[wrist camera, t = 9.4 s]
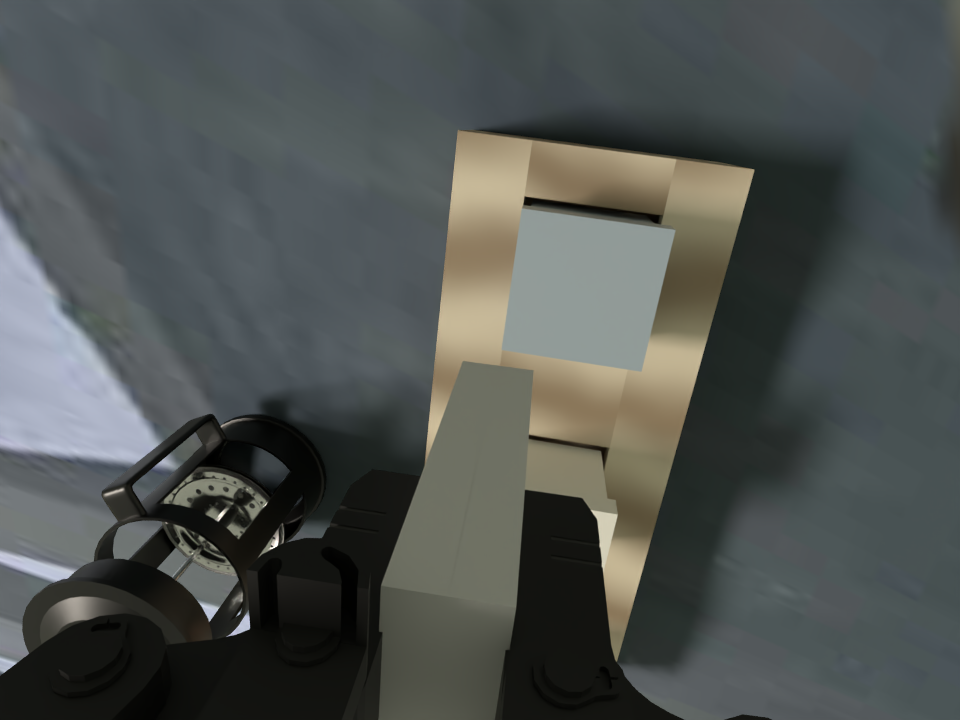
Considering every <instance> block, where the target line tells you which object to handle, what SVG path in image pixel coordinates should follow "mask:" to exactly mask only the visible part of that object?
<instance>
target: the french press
mask: <svg viewBox="0 0 960 720" xmlns="http://www.w3.org/2000/svg"><path fill="white" fill-rule="evenodd" d="M194 432H196V434H197V435H198V437H199V439H200V440H201V442H202V444H203V445H202V446H201V447H200V448H199V449H198V450H197V451H196V452H195V453H194V454H193V455H192V456H191V457H190V458H189V459H188V460H187V461H186V462H185V463H184V464H183V465H181V466H180V467H179V468H178V469H177V470H176V471H175V472H174V473H173V474H171V475H170V476H169V477H168V478H167V479H166V480H165V481H164V482H163V483H161V484H160V485H159V486H158V487H157V488H156V489H155V490H154V491H153V492H151V493H150V494H149V495H148V496H147V497H146V498H145V499H144V500H143V501H141V502H140V500H139V499H138V497H137V496H136V494H135V493H134V491H133V489H132V486H133V484H134V483H135V482H136V481H137V480H139V479H140V478H141V477H142V476H143V475H145V474H146V473H147V472H148V471H149V470H151V469H152V468H153V467H154V466H155V465H156V464H158V463H159V462H160V461H161V460H162V459H164V458H165V457H166V456H167V455H168V454H170V453H171V452H172V451H173V450H174V449H175V448H177V447H178V446H179V445H180V444H181V443H183V442H184V441H185V440H186V439H187V438H189V437H190V436H191V435H192V434H193V433H194ZM228 442H240V443H246V444H250V445H253V446H256V447H259V448H261V449H263V450H265V451H267V452H269V453H271V454H272V455H274V456H275V457H276V458H278V459H279V460H280V461H281V462H283V464H284V465H285V466H286V467H287V468H288V469H289V470H290V473H289V474H288V475H287V476H286V478H285V479H284V480H283V482H282V483H281V484H280V485H279V487H278V488H277V489H276V491H275V492H274V493H273V495H272V494H271V492H270V491H269V490H268V489H267V488H265V487H264V486H263V485H262V484H261V483H260V482H258V481H257V480H255V479H254V478H253V477H251V476H249V475H247V474H245V473H243V472H241V471H239V470H236V469H233V468H230V467H226V466H221V465H220V457H221V453H222V451H223V448H224V447H225V445H226V444H227V443H228ZM325 489H326V473H325V468H324V464H323V462H322V459H321V457H320V455H319V453H318V452H317V450H316V448H315V447H314V445H313V444H312V443H311V442H310V441H309V440H308V439H307V438H306V436H305V435H303V434H302V433H301V432H300V431H298V430H297V429H296V428H294V427H293V426H291V425H289V424H287V423H285V422H283V421H281V420H278V419H275V418H272V417H268V416H262V415H245V416H240V417H236V418H233V419H231V420H229V421H226V422H224V423H223V424H222V425H221V426H220V425H219V423H218V421H217V419H216V418H215V416H214V415H213V414H208V415H205V416H202V417H199V418H196V419H193V420H190V421H189V422H187V423H186V424H185V425H183V426H182V427H181V428H180V429H178V430H177V431H176V432H175V433H173V434H172V435H171V436H170V437H168V438H167V439H166V440H165V441H163V442H162V443H161V444H160V445H158V446H157V447H156V448H155V449H153V450H152V451H151V452H150V453H148V454H147V455H146V456H145V457H143V458H142V459H141V460H140V461H138V462H137V463H136V464H135V465H133V466H132V467H131V468H130V469H128V470H127V471H126V472H125V473H123V474H122V475H121V476H120V477H118V478H117V479H116V480H115V481H113V482H112V483H111V484H110V485H108V486H107V487H106V488H105V489H104V490H103V491H102V498H103V499H104V501H105V502H106V504H107V505H108V507H109V508H110V510H111V511H112V513H113V514H114V516H115V517H116V519H117V520H118V522H117V523H116V524H114V525H113V526H112V527H111V528H110V529H109V530H108V531H107V532H106V533H105V534H104V535H103V537H102V538H101V539H100V541H99V543H98V545H97V548H96V550H95V556H94V562H91V563H89V564H86V565H84V566H82V567H81V568H80V569H78V570H77V571H76V572H74V573H73V574H72V575H71V576H70V577H69V578H68V579H62V580H60V581H57V582H55V583H52V584H50V585H48V586H47V587H45V588H44V589H43V590H41V591H40V592H39V593H38V594H36V595H35V596H34V597H33V599H32V600H31V601H30V603H29V604H28V606H27V607H26V610H25V613H24V616H23V629H22V631H23V636H24V641H25V645H26V647H27V649H28V652H29V654H30V653H31V652H32V651H34V650H35V649H36V648H38V647H39V646H40V645H41V644H43V643H44V642H45V641H47V640H49V639H50V638H52V637H54V636H55V635H57V634H59V633H60V632H62V631H64V630H65V629H67V628H69V627H70V626H72V625H75V624H78V623H81V622H84V621H86V620H89V619H92V618H95V617H98V616H104V615H114V614H124V613H127V614H132V615H136V616H141V617H146V618H148V619H149V620H151V621H152V622H153V623H155V624H156V625H157V626H158V627H160V628H161V629H162V633H163V636H164V639H165V643H166V645H168V644H176V643H185V642H194V641H203V640H212V639H218V638H223V637H226V636H228V635H230V634H231V633H232V632H233V631H234V630H235V629H236V628H237V627H238V626H239V624H240V622H241V621H242V619H243V618H244V616H245V615H246V613H247V612H248V610H249V601H248V587H247V572H246V570H247V569H248V568H249V567H250V566H251V565H252V564H253V563H254V562H255V561H256V560H257V559H258V558H259V557H260V556H261V554H263V553H265V552H267V551H269V550H271V549H273V548H275V547H277V546H279V545H280V544H282V543H286V542H287V541H289V540H290V539H292V538H293V537H294V536H295V535H296V534H297V533H298V532H299V530H300V529H301V527H302V525H303V524H304V522H305V521H306V519H307V518H308V517H309V516H310V515H311V514H312V513H313V512H314V511H315V510H316V509H317V508H318V506H319V504H320V502H321V501H322V499H323V496H324V493H325ZM301 495H303V499H302V500H301V501H300V502H299V504H297V505H296V506H294V505H295V504H296V502H297V501H298V499H299V498H300V497H301ZM141 520H153V521H162V526H161V527H160V528H159V530H158V531H157V532H156V533H155V534H154V535H153V536H152V537H151V538H150V539H149V540H148V541H147V542H146V543H145V544H144V545H143V546H142V547H141V548H140V549H139V550H138V551H137V552H136V553H135V554H134V555H133V556H132V557H131V558H130V559H129V560H125V559H114V556H113V542H114V537H115V534H116V532H117V529H118V528H119V527H120V526H122V525H125V524H127V523H130V522H136V521H141ZM175 548H177V549H178V550H179V551H180V552H181V553H182V554H183V555H184V556H186V557H187V558H188V559H187V560H186V561H185V562H184V563H183V565H182V566H181V567H180V568H179V569H178V570H177V572H176V573H175V574H174V575H173V576H172V577H170V576H169V575H167V574H165V573H163V572H162V571H160V570H158V569H157V568H158V567H159V565H160V564H161V563H162V562H163V561H164V560H165V559H166V558H167V557H168V556H169V554H170V553H171V552H172V551H173V550H174V549H175ZM192 562H194V563H195V564H197V565H199V566H201V567H203V568H205V569H207V570H210V571H213V572H216V573H219V574H224V575H230V576H238V578H239V581H238V582H237V584H236V585H235V587H234V588H233V590H232V591H231V592H230V594H229V595H228V597H227V598H226V599H225V601H224V602H223V604H222V605H221V607H220V608H219V609H218V611H217V612H216V614H215V615H214V617H213V618H212V619H211V621H210V622H209V621H208V618H207V616H206V614H205V612H204V610H203V609H202V607H201V605H200V604H199V603H198V601H197V600H196V599H195V598H194V596H193V595H192V594H191V593H190V592H189V591H188V590H187V589H186V588H185V587H184V586H183V585H181V584H180V583H179V582H177V580H178V579H179V578H180V576H181V575H182V574H183V573H184V572H185V570H186V569H187V568H188V567H189V566H190V564H191V563H192ZM241 608H242V611H241V614H240V615H238V616H237V614H238V613H239V611H240V610H241ZM236 616H237V617H236Z"/></svg>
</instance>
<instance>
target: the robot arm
mask: <svg viewBox="0 0 960 720" xmlns="http://www.w3.org/2000/svg"><path fill="white" fill-rule="evenodd" d="M533 372H534V370H527V369H520V368H512V367H505V366H497V365H490V364H482V363H475V362H467V361H463V362H462V365H461V368H460V370H459V373H458V376H457V379H456V381H455V384H454V387H453V389H452V392H451V395H450V398H449V400H448V403H447V406H446V409H445V411H444V414H443V417H442V420H441V422H440V425H439V428H438V431H437V433H436V436H435V439H434V442H433V444H432V447H431V450H430V453H429V455H428V458H427V461H426V464H425V466H424V469H423V472H422V474H421V476H415V475H408V474H401V473H394V472H387V471H381V470H374V469H372V470H371V471H370V472H368V473H367V474H365V475H364V476H363V477H361V478H360V479H359V480H357V481H356V482H354V483H353V484H352V485H351V486H350V488H349V490H348V492H347V493H346V495H345V497H344V499H343V501H342V503H341V504H340V508H339V510H337V512H336V514H335V515H334V517H333V519H332V521H331V523H330V527H329V528H327V530H326V532H325V534H324V536H323V537H322V538H304V539H300V540H295V541H291V542H287V543H282V544H280V545H279V546H277V547H275V548H273V549H271V550H269V551H267V552H265V553H263V554H261V556H260V557H259V558H258V559H257V560H256V561H255V562H254V563H253V564H252V565H251V566H250V567H249V568H248V569H247V570H246V572H247V587H248V601H249V616H250V630H247V631H245V632H242V633H239V634H237V635H233V636H228V637H223V638H218V639H212V640H203V641H194V642H185V643H176V644H168V645H166V643H165V639H164V636H163V633H162V629H161V628H160V627H158V626H157V625H156V624H155V623H153V622H152V621H151V620H149V619H148V618H146V617H141V616H136V615H132V614H127V613H124V614H114V615H104V616H98V617H95V618H92V619H89V620H86V621H84V622H81V623H78V624H75V625H72V626H70V627H69V628H67V629H65V630H64V631H62V632H60V633H59V634H57V635H55V636H54V637H52V638H50V639H49V640H47V641H45V642H44V643H43V644H41V645H40V646H39V647H38V648H36V649H35V650H34V651H32V652H31V653H30V654H28V655H27V656H26V657H24V658H23V659H22V660H20V661H19V662H18V663H17V664H15V665H14V666H13V667H11V668H10V669H9V670H7V671H6V672H5V673H3V674H2V675H1V676H0V720H684V719H682V718H679V717H677V716H675V715H673V714H671V713H669V712H667V711H665V710H664V709H662V708H660V707H659V706H657V705H655V704H653V703H652V702H650V701H649V700H648V699H647V698H645V697H644V696H643V695H642V694H641V693H639V692H638V691H637V690H636V689H635V688H634V687H633V686H632V684H631V683H630V682H629V681H628V680H627V678H626V677H625V676H624V673H623V670H622V669H621V667H620V666H619V665H618V664H617V662H616V660H615V657H614V653H613V650H612V646H611V638H610V629H609V620H608V611H607V602H606V593H605V584H604V575H603V567H602V557H601V548H600V547H599V546H600V539H599V530H598V521H597V518H596V517H595V515H594V514H593V513H592V511H591V510H590V508H589V507H588V505H587V504H586V502H585V501H584V500H583V498H579V497H572V496H565V495H559V494H552V493H545V492H538V491H531V490H525V481H526V467H527V453H528V440H529V426H530V412H531V399H532V385H533ZM726 720H772V719H769V718H765V717H758V716H750V715H739V716H736V717H733V718H729V719H726Z"/></svg>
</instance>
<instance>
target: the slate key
mask: <svg viewBox="0 0 960 720" xmlns="http://www.w3.org/2000/svg"><path fill="white" fill-rule="evenodd" d="M674 235H675V229H674V228H673V227H672V226H670V225H662V224H655V223H653V222H652V221H651V220H650V219H649V218H648V217H647V216H646V215H639V214H631V213H624V212H617V211H610V210H602V209H595V208H588V207H581V206H574V205H566V204H559V203H552V202H545V201H537V200H533V202H532V205H531V206H526V205H523V207H522V210H521V217H520V224H519V231H518V238H517V245H516V252H515V259H514V266H513V273H512V280H511V287H510V294H509V301H508V308H507V315H506V322H505V329H504V336H503V343H502V350H505V351H511V352H518V353H524V354H531V355H537V356H543V357H550V358H556V359H563V360H569V361H576V362H582V363H588V364H595V365H601V366H608V367H614V368H620V369H627V370H633V371H640V372H641V371H642V367H643V363H644V359H645V355H646V351H647V347H648V342H649V338H650V334H651V330H652V326H653V322H654V318H655V313H656V309H657V305H658V301H659V297H660V293H661V289H662V284H663V280H664V276H665V272H666V268H667V264H668V259H669V255H670V251H671V247H672V243H673V239H674Z"/></svg>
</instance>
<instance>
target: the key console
mask: <svg viewBox="0 0 960 720" xmlns="http://www.w3.org/2000/svg"><path fill="white" fill-rule="evenodd" d="M753 174H754V169H749V168H745V167H740V166H735V165H731V164H726V163H721V162H714V161H706V160H698V159H691V158H683V157H676V156H668V155H660V154H653V153H645V152H638V151H630V150H622V149H615V148H607V147H600V146H592V145H584V144H577V143H569V142H562V141H554V140H546V139H539V138H531V137H523V136H516V135H508V134H501V133H493V132H485V131H478V130H458V135H457V145H456V155H455V165H454V175H453V185H452V195H451V205H450V215H449V226H448V236H447V246H446V256H445V266H444V276H443V286H442V296H441V306H440V316H439V326H438V336H437V346H436V356H435V366H434V376H433V386H432V396H431V406H430V416H429V426H428V436H427V446H426V456H425V464H426V461H427V458H428V455H429V453H430V450H431V447H432V444H433V442H434V439H435V436H436V433H437V431H438V428H439V425H440V422H441V420H442V417H443V414H444V411H445V409H446V406H447V403H448V400H449V398H450V395H451V392H452V389H453V387H454V384H455V381H456V379H457V376H458V373H459V370H460V368H461V365H462V362H463V361H467V362H475V363H482V364H490V365H497V366H505V367H512V368H520V369H527V370H534V372H533V385H532V399H531V412H530V426H529V439H532V440H538V441H544V442H550V443H556V444H562V445H568V446H574V447H580V448H586V449H592V450H598V451H601V455H602V462H603V469H604V477H605V484H606V492H607V499H613V500H616V506H617V512H618V516H617V520H616V524H615V528H614V532H613V536H612V540H611V544H610V548H609V552H608V556H607V560H606V564H605V568H604V572H603V575H604V584H605V593H606V602H607V611H608V620H609V629H610V638H611V646H612V650H613V653H614V657H615V660H616V662H617V660H618V656H619V653H620V649H621V645H622V642H623V638H624V635H625V631H626V628H627V624H628V620H629V617H630V613H631V610H632V606H633V603H634V599H635V595H636V592H637V588H638V585H639V581H640V578H641V574H642V570H643V567H644V563H645V560H646V556H647V553H648V549H649V545H650V542H651V538H652V535H653V531H654V527H655V524H656V520H657V517H658V513H659V510H660V506H661V502H662V499H663V495H664V492H665V488H666V485H667V481H668V477H669V474H670V470H671V467H672V463H673V460H674V456H675V452H676V449H677V445H678V442H679V438H680V435H681V431H682V427H683V424H684V420H685V417H686V413H687V410H688V406H689V402H690V399H691V395H692V392H693V388H694V385H695V381H696V377H697V374H698V370H699V367H700V363H701V360H702V356H703V352H704V349H705V345H706V342H707V338H708V335H709V331H710V327H711V324H712V320H713V317H714V313H715V309H716V306H717V302H718V299H719V295H720V292H721V288H722V284H723V281H724V277H725V274H726V270H727V267H728V263H729V259H730V256H731V252H732V249H733V245H734V242H735V238H736V234H737V231H738V227H739V224H740V220H741V217H742V213H743V209H744V206H745V202H746V199H747V195H748V192H749V188H750V184H751V181H752V177H753ZM533 200H537V201H545V202H552V203H559V204H566V205H574V206H581V207H588V208H595V209H602V210H610V211H617V212H624V213H631V214H639V215H646V216H647V217H648V218H649V219H650V220H651V221H652V222H653V223H655V224H662V225H670V226H672V227H673V228H674V229H675V235H674V239H673V243H672V247H671V251H670V255H669V259H668V264H667V268H666V272H665V276H664V280H663V284H662V289H661V293H660V297H659V301H658V305H657V309H656V313H655V318H654V322H653V326H652V330H651V334H650V338H649V342H648V347H647V351H646V355H645V359H644V363H643V367H642V371H641V372H640V371H633V370H627V369H620V368H614V367H608V366H601V365H595V364H588V363H582V362H576V361H569V360H563V359H556V358H550V357H543V356H537V355H531V354H524V353H518V352H511V351H505V350H502V343H503V336H504V329H505V322H506V315H507V308H508V301H509V294H510V287H511V280H512V273H513V266H514V259H515V252H516V245H517V238H518V231H519V224H520V217H521V210H522V207H523V205H526V206H531V205H532V202H533Z"/></svg>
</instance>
